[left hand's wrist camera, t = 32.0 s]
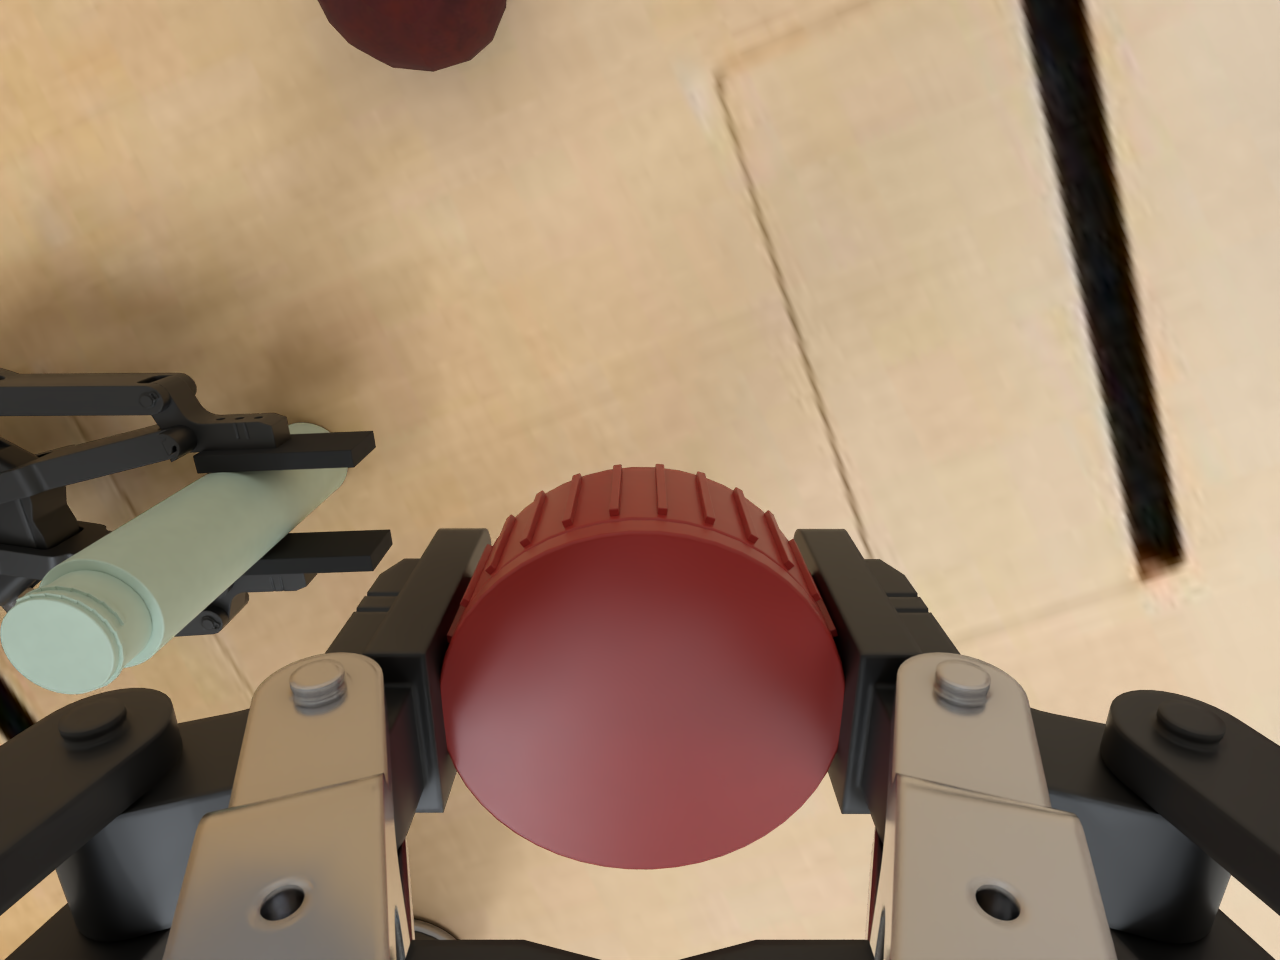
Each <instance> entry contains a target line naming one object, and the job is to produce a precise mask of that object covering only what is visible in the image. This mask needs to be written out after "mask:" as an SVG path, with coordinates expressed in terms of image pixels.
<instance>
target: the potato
mask: <svg viewBox="0 0 1280 960" xmlns="http://www.w3.org/2000/svg"><path fill="white" fill-rule="evenodd" d="M318 2H319V4H320V5H321V7H322V9H323V11H324V13H325V15H326V17H327V19H328V21H329V23H330V24H331V25H332V26H333V27H334V28H335V29H336V30H337V31H338V32H339V33H340V34H341V35H342V36H343V37H344V38H345V40H346V41H347V42H348V43H350V44H351V45H353V46H354V47H356V48H357V49H359V50H361V51H363V52H365V53H366V54H368V55H370V56H372V57H374V58H375V59H377V60H379V61H381V62H383V63H385V64H387V65H389V66H391V67H393V68H403V69H414V70H424V71H436V70H440V69H443V68H446V67H450V66H453V65H456V64H459V63H463V62H466V61H469V60H471V59H472V58H473V57H474V56H476V55H477V54H478V53H479V52H480V51H481V50H482V49H483V48H485V47H486V46H487V45H488V44H489V43H490V42H491V41H492V40H493V38H494V35H495V33H496V30H497V28H498V25H499V23H500V20H501V18H502V15H503V13H504V11H505V8H506V0H318Z"/></svg>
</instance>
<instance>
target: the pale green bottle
mask: <svg viewBox="0 0 1280 960" xmlns="http://www.w3.org/2000/svg"><path fill="white" fill-rule="evenodd" d="M288 426H289V431H290V434H308V433H330V432H329V431H327V430H326V429H324V428H322V427H320V426H318V425H314V424H310V423H294V424H290V425H288ZM347 470H348V468H324V469H298V470H271V471H245V472H219V473H208V474H206V475H205V476H203V477H201V478H200V479H198V480H196V481H195V482H193V483H191V484H190V485H188V486H187V487H185V488H183V489H182V490H180V491H178V492H177V493H175V494H173V495H172V496H170V497H168V498H167V499H165V500H164V501H162V502H160V503H159V504H157V505H155V506H154V507H152V508H150V509H149V510H147V511H145V512H144V513H142V514H140V515H139V516H137V517H136V518H134V519H132V520H131V521H129V522H127V523H126V524H124V525H122V526H121V527H119V528H117V529H116V530H114V531H113V532H111V533H109V534H108V535H106V536H104V537H103V538H101V539H99V540H98V541H96V542H94V543H93V544H91V545H90V546H88V547H86V548H85V549H83V550H81V551H80V552H78V553H76V554H75V555H73V556H71V557H70V558H68V559H66V560H65V561H63V562H62V563H60V564H58V565H57V566H55V567H54V568H52V569H51V570H50V571H49V572H48V573H47V574H46V575H45V577H44V578H43V579H42V581H41V583H40V586H39V588H37V589H34V590H32V591H30V592H28V593H26V594H25V595H24V596H23V597H20V598H18V599H17V600H16V601H17V602H16V604H15V606H14V607H12V608H11V609H10V610H9V611H8V612H7V614H6V615H5V617H4V619H3V621H2V624H1V629H0V637H1V643H2V647H3V649H4V652H5V654H6V656H7V657H8V659H9V661H10V662H11V663H12V665H13V666H14V667H15V668H16V669H17V670H18V671H19V672H20V673H21V674H22V675H23V676H25V677H26V678H27V679H29V680H30V681H32V682H33V683H35V684H37V685H39V686H41V687H43V688H45V689H48V690H50V691H54V692H58V693H63V694H81V693H86V692H90V691H93V690H96V689H98V688H101V687H103V686H107V685H108V684H109V683H111V682H112V681H113V680H114V679H116V678H117V677H118V676H119V674H120V673H121V671H122V669H123V668H126V667H132V666H135V665H138V664H141V663H143V662H145V661H146V660H148V659H149V658H151V657H152V656H153V655H154V654H155V653H156V652H157V651H159V650H160V649H161V648H162V647H163V646H164V645H165V644H166V643H167V642H168V641H170V640H171V639H172V638H173V637H174V636H175V635H176V634H177V633H178V632H180V631H181V630H182V629H183V628H184V627H185V626H186V625H187V624H188V623H189V622H191V621H192V620H193V619H194V618H195V617H196V616H197V615H198V614H199V613H201V612H202V611H203V610H204V609H205V608H206V607H207V606H208V605H209V604H211V603H212V602H213V601H214V600H215V599H216V598H217V597H218V596H219V595H220V594H222V593H223V592H224V591H225V590H226V589H227V588H228V587H229V586H230V585H232V584H233V583H234V582H235V581H236V580H237V579H238V578H239V577H240V576H241V575H243V574H244V573H245V572H246V571H247V570H248V569H249V568H250V567H251V566H253V565H254V564H255V563H256V562H257V561H258V560H259V559H260V558H261V557H263V556H264V555H265V554H266V553H267V552H268V551H269V550H270V549H271V548H272V547H274V546H275V545H276V544H277V543H278V542H279V541H280V540H281V539H282V538H284V537H285V536H286V535H287V534H288V533H289V532H290V531H291V530H292V529H294V528H295V527H296V526H297V525H298V524H299V523H300V522H301V521H302V520H303V519H305V518H306V517H307V516H308V515H309V514H310V513H311V512H312V511H313V510H315V509H316V508H317V507H318V506H319V505H320V504H321V503H322V502H323V501H324V500H326V499H327V498H328V497H329V496H330V495H331V494H332V493H333V492H334V491H336V490H337V489H338V488H339V487H340V486H341V484H342V483H343V482H344V480H345V477H346V475H347Z"/></svg>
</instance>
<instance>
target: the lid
mask: <svg viewBox="0 0 1280 960" xmlns="http://www.w3.org/2000/svg"><path fill="white" fill-rule="evenodd" d="M836 636H838V634H837V631H836V628H835V626H834V624H833V621H832V619H831V617H830V615H829V613H828V610H827V608H826V606H825V604H824V601H823V599H822V597H821V595H820V593H819V590H818V588H817V586H816V584H815V582H814V579H813V577H812V575H811V573H810V571H809V570H808V568H807V565H806V563H805V561H804V559H803V557H802V554H801V552H800V550H799V548H798V546H797V544H796V542H795V540H794V539H792V540H790V541H788V540H787V538H786V537H785V536H784V534H783V533H782V532H781V530H780V529H779V527H778V525H777V522H776V520H775V518H774V515H773V514H772V513H771V512H770V511H769V510H768V511H767V512H766V513H764V512H763V511H762V510H761V509H759V508H758V507H757V506H755V505H754V504H753V503H752V502H750V501H749V500H748V499H746V498H745V497H744V494H743V491H742V490H740V489H738V488H737V487H736V488H735V489H734V491H733V490H731V489H729V488H728V487H726V486H724V485H722V484H719V483H717V482H714V481H712V480H709V479H707V478H706V476H705V473H701V472H697V474H696V475H694V474H691V473H687V472H683V471H679V470H671V469H664V465H662V464H656V467H629V468H622V465H614V466H613V469H612V470H606V471H602V472H598V473H594V474H589V475H585V476H583V477H581V474H577V475H574V476H573V478H572V481H570V482H567V483H564V484H562V485H560V486H559V487H557V488H555V489H553V490H551V491H549V492H547V493H546V494H545V493H544V491H541V492H539V493H538V494H536V497H535V500H534V502H533V503H531V504H530V505H529V506H527V507H526V508H525V509H524V510H523V511H522V512H520V513H519V514H518V515H517V516H516V517H514V516H513V515H510V516H509V517H508V518H507V519H506V522H505V524H504V526H503V529H502V531H501V533H500V536H499V537H498V538H497V540H496V542H495V543H494V545H493V546H491V545H489V544H487V545H486V547H485V549H484V551H483V553H482V555H481V558H480V560H479V562H478V564H477V567H476V569H475V571H474V573H473V576H472V578H471V580H470V582H469V584H468V587H467V589H466V591H465V593H464V596H463V598H462V600H461V602H460V607H459V609H458V611H457V613H456V616H455V618H454V620H453V622H452V625H451V627H450V629H449V631H448V634H447V640H448V643H450V644H449V646H448V649H447V651H446V654H445V657H444V660H443V665H442V669H441V674H440V690H441V700H442V709H443V717H444V726H445V735H446V743H447V750H448V753H449V755H450V757H451V760H452V762H453V764H454V767H455V769H456V770H457V772H458V773H459V775H460V777H461V778H462V780H463V782H464V783H465V785H466V786H467V788H468V789H469V790H470V791H471V793H472V794H473V795H474V796H475V797H476V799H477V800H478V801H479V802H480V804H481V805H482V806H484V807H485V808H486V809H487V810H488V811H489V812H490V813H491V814H492V815H493V816H494V817H495V818H496V819H497V820H499V821H500V822H501V823H503V824H504V825H505V826H507V827H508V828H509V829H511V830H512V831H514V832H515V833H516V834H518V835H520V836H522V837H523V838H525V839H527V840H529V841H530V842H532V843H534V844H535V845H538V846H540V847H542V848H544V849H547V850H549V851H551V852H554V853H556V854H558V855H561V856H565V857H568V858H571V859H574V860H577V861H580V862H585V863H590V864H594V865H599V866H604V867H613V868H623V869H661V868H672V867H680V866H685V865H690V864H695V863H700V862H704V861H707V860H710V859H714V858H717V857H721V856H724V855H726V854H728V853H731V852H733V851H736V850H738V849H740V848H743V847H745V846H747V845H749V844H751V843H752V842H754V841H756V840H758V839H760V838H762V837H763V836H765V835H767V834H768V833H769V832H771V831H772V830H774V829H775V828H777V827H778V826H779V825H781V824H782V823H784V822H785V821H786V820H787V819H788V818H789V817H790V816H791V815H793V814H794V813H795V812H796V811H797V810H798V809H799V808H800V807H801V806H802V805H803V804H804V803H805V802H806V800H807V799H808V798H809V797H810V796H811V795H812V793H813V792H814V791H815V790H816V789H817V787H818V785H819V784H820V782H821V781H822V779H823V778H824V776H825V775H826V773H827V772H828V770H829V767H830V765H831V763H832V761H833V759H834V757H835V754H836V752H837V749H838V742H839V734H840V726H841V717H842V709H843V700H844V690H845V676H844V671H843V666H842V661H841V658H840V656H839V653H838V650H837V647H836V645H835V642H834V639H833V637H836Z"/></svg>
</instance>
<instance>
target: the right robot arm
mask: <svg viewBox="0 0 1280 960" xmlns="http://www.w3.org/2000/svg"><path fill="white" fill-rule="evenodd" d="M195 394H196V385H195V382H194V381H193V380H192V378H191V377H189V376H188V375H186V374H183V373H87V374H18V373H15V372H12V371H9V370H6V369H3V368H0V416H79V415H152V417H153V418H154V420H155V421H156V423H157V425H154V426H150V427H146V428H142V429H138V430H134V431H130V432H126V433H122V434H119V435H115V436H111V437H107V438H103V439H99V440H95V441H91V442H87V443H83V444H80V445H70V446H66V447H62V448H59V449H55V450H51V451H47V452H43V453H39V454H35V455H33V454H32V453H30V452H28V451H26V450H24V449H22V448H20V447H18V446H16V445H15V444H13V443H11V442H9V441H7V440H5V439H3V438H1V437H0V606H2V607H3V608H4V610H5V611H6V612H8V611H9V610H10V609H11V608H12V607H14V606H15V604H16V602H17V601H16V600H17V599H18V598H20V597H23V596H24V595H25V594H26V593H28V592H30V591H32V590H34V589H33V587H34V586H35V585H36V584H38V583H39V582H40V581H41V580H42V579H43V578H44V577H45V575H46V574H47V573H48V572H49V571H50V570H51V569H52V568H54V567H55V566H57V565H58V564H60V563H62V562H63V561H65V560H66V559H68V558H70V557H71V556H73V555H75V554H76V553H78V552H80V551H81V550H83V549H85V548H86V547H88V546H90V545H91V544H93V543H94V542H96V541H98V540H99V539H101V538H103V537H104V536H106V535H108V534H109V533H111V532H113V531H108V530H106V526H104V525H101V524H95V523H89V522H82V521H77V520H76V518H75V516H74V515H73V513H72V512H71V510H70V508H69V507H68V505H67V502H66V486H65V485H69V484H73V483H77V482H81V481H85V480H89V479H93V478H97V477H101V476H105V475H109V474H113V473H117V472H121V471H125V470H129V469H133V468H137V467H141V466H145V465H149V464H153V463H157V462H161V461H165V460H169V459H170V460H171V462H173V461H175V460H177V459H178V458H180V457H182V456H184V455H185V454H187V453H189V452H199V453H198V454H196V455H194V456H193V458H194V462H195V465H196V469H197V473H219V472H245V471H271V470H298V469H324V468H350V467H355V466H356V465H357V464H358V463H359V462H360V461H361V460H362V459H364V458H365V457H366V456H367V455H368V454H369V453H370V452H371V451H372V450H373V449H374V448H375V447H376V446H375V440H374V434H373V431H360V432H334V433H308V434H290V431H289V426H288V422H287V417H285V416H282V415H279V414H276V413H261V414H259V413H258V414H233V415H215V414H212V413H210V412H208V411H207V410H205V409H204V408H203V407H202V406H201V404H200V403H199V401H198V400H197V398H196V397H195ZM391 546H392V538H391V532H390V530H366V531H338V532H311V533H288V534H287V535H286V536H285V537H284V538H282V539H281V540H280V541H279V542H278V543H277V544H276V545H275V546H274V547H272V548H271V549H270V550H269V551H268V552H267V553H266V554H265V555H264V556H263V557H261V558H260V559H259V560H258V561H257V562H256V563H255V564H254V565H253V566H251V567H250V568H249V569H248V570H247V571H246V572H245V573H244V574H243V575H241V576H240V577H239V578H238V579H237V580H236V581H235V582H234V583H233V584H232V585H230V586H229V587H228V588H227V589H226V590H225V591H224V592H223V593H222V594H220V595H219V596H218V597H217V598H216V599H215V600H214V601H213V602H212V603H211V604H209V605H208V606H207V607H206V608H205V609H204V610H203V611H202V612H201V613H199V614H198V615H197V616H196V617H195V618H194V619H193V620H192V621H191V622H189V623H188V624H187V625H186V626H185V627H184V628H183V629H182V630H181V631H180V632H178V633H177V634H176V635H175V636H174V637H176V636H191V635H207V634H215V633H218V632H219V631H221V630H222V629H223V628H224V627H225V626H226V625H227V624H228V623H229V622H230V621H231V620H232V619H233V617H234V616H235V615H236V614H237V613H238V612H239V611H240V610H241V609H242V608H243V607H244V606H245V605H246V604H247V603H248V601H249V595H248V593H247V592H270V591H296V590H299V589H301V588H303V587H306V586H307V585H308V584H309V583H310V582H311V580H312V579H313V578H314V577H315V576H316V575H317V573H332V572H360V571H374V569H375V568H376V566H377V565H378V564H379V562H380V561H381V560H382V558H383V557H384V555H385V554H386V553H387V551H388V550H389V548H390V547H391Z"/></svg>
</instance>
